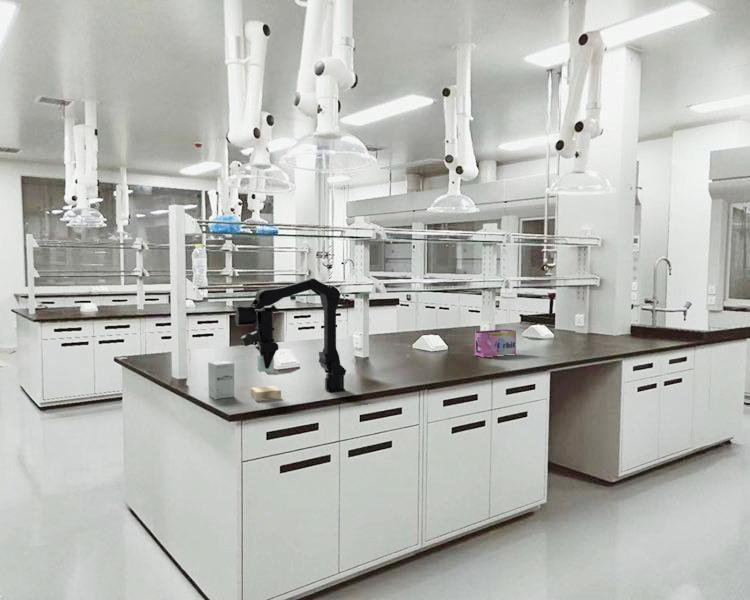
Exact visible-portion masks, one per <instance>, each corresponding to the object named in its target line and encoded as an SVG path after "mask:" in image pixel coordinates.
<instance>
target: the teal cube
mask: <svg viewBox="0 0 750 600" xmlns="http://www.w3.org/2000/svg"><path fill="white" fill-rule="evenodd" d="M274 363H275V359H274V357H273V359H272V361H271V364H270V366H269V368H268V369H266V368H265V364H264V359H263V356H261V355H257V371H258V372H259V373H260V372H274V371H275V369H274V366H275V364H274Z"/></svg>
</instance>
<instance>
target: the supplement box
mask: <svg viewBox="0 0 750 600" xmlns="http://www.w3.org/2000/svg"><path fill="white" fill-rule="evenodd" d="M207 364H208V366H207V367H208V370H207V373H208V396H209V398H212V399H214V400H220V399H227V398H235V362H232V361H229V360H222V361H210V362H207Z"/></svg>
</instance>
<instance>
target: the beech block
mask: <svg viewBox="0 0 750 600" xmlns="http://www.w3.org/2000/svg"><path fill="white" fill-rule="evenodd" d="M250 396H251V398H252V397H253V398H254V399H255V400H256V401H255V400H254V399H253V398H252V399H253V400H254V401H255V402H262V401H261V400H265V401H273V400H272V399H276V400H281V399H282V390H281V389H280V388H279V387H278V386H276V385H267V386H257V387H256V386H255V387H254V386H253V387H251V388H250Z"/></svg>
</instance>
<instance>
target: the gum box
mask: <svg viewBox="0 0 750 600" xmlns="http://www.w3.org/2000/svg"><path fill="white" fill-rule="evenodd" d="M507 354H516V355H517V330H515V329H513V330H512V329H493V330H475V332H474V356H475V355H478V356H482V357H487V356H497V355H507Z"/></svg>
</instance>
